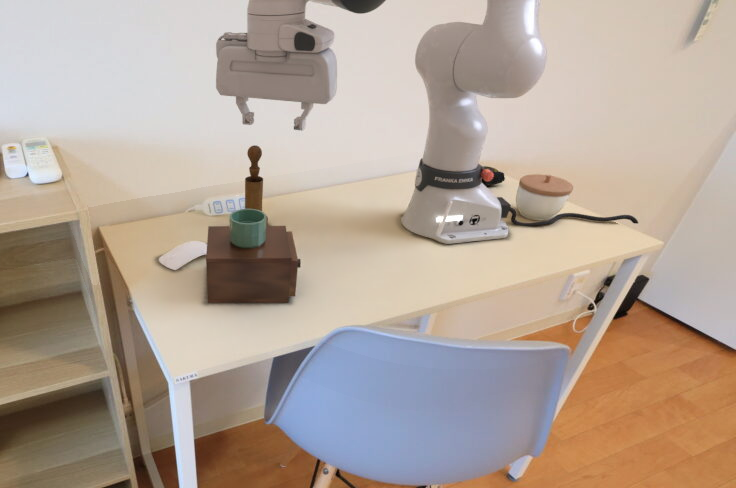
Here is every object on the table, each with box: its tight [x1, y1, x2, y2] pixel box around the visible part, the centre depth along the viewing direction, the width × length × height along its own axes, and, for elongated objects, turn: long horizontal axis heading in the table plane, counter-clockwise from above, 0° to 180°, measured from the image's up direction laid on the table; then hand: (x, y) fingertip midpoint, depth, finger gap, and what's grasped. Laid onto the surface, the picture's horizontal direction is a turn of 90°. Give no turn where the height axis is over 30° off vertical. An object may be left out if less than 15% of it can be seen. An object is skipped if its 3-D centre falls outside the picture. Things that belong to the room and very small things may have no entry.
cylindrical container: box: [229, 208, 267, 248], centre depth 91 cm, size 6×6×5 cm
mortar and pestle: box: [244, 144, 269, 226], centre depth 113 cm, size 7×6×18 cm
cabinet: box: [205, 225, 292, 304], centre depth 96 cm, size 15×13×9 cm
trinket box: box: [515, 173, 574, 221], centre depth 118 cm, size 11×11×9 cm
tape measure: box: [482, 165, 506, 187], centre depth 135 cm, size 7×7×4 cm
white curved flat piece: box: [158, 240, 207, 271], centre depth 107 cm, size 7×12×2 cm, turn 128°
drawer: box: [287, 230, 302, 297], centre depth 96 cm, size 15×11×7 cm
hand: (273, 126), depth 89 cm, fingers open, 8 cm apart
